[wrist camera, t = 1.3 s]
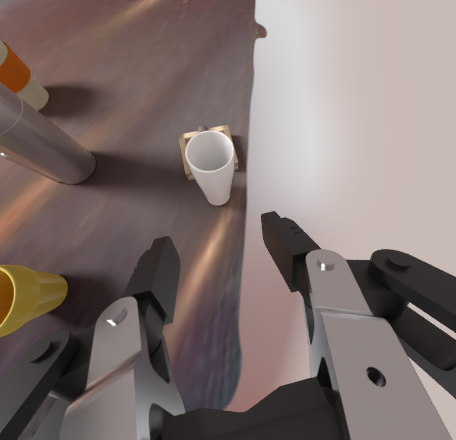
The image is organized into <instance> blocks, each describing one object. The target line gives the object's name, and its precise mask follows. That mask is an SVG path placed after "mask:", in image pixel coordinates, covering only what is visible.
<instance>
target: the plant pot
mask: <svg viewBox="0 0 456 440" xmlns="http://www.w3.org/2000/svg"><path fill="white" fill-rule="evenodd" d="M67 291H68V285H67V282H66V280H65V279H64V278H63V277H62V276H60V275H56V274H49V273H43V272H37V271H32V270H31V269H29V268H27V267H25V266H20V265H0V337H2V336H5V335H7V334H10V333H12V332H14V331H15V330H17V329H18V328H20V327H21V326H22V325H23V324H24V323H26V322H28V321H30V320H32V319H34V318H36V317H38V316H40V315H42V314H45V313H47V312H49V311H51V310H53V309H55V308H56V307H58V306H59V305H60V304H61V303H62V302H63V301H64V299H65V297H66V295H67Z"/></svg>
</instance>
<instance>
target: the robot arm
mask: <svg viewBox="0 0 456 440" xmlns="http://www.w3.org/2000/svg"><path fill="white" fill-rule="evenodd" d="M0 153H1V155H2V157H3V158H5V159H7V160H9V161H12V162H14V163H16V164H18V165H20V166H23V167H25V168H27V169H29V170H31V171H33V172H36V173H38V174H40V175H42V176H44V177H47V178H49V179H51V180H53V181H55V182H63V183H66V184H78V183H80V182H83V181H84V180H86V179H87V178H88V177H90V175H91V174H92V173H93V171H94V169H95V166H96V160H95V157H94V156H93V154H92V153H91V152H89V151H88V150H87V149H85V148H84V147H83V146H82V145H80V144H79V143H78V142H76V141H75V140H74V139H73V138H71V137H70V136H69V135H68V134H66V133H65V132H64V131H62V130H61V129H60V128H59V127H57V126H56V125H55V124H53V123H52V122H51V121H50V120H48V119H47V118H46V117H44V116H43V115H42V114H41V113H39V112H38V111H37V110H35V109H34V108H33V107H32V106H30V105H29V104H28V103H26V102H25V101H24V100H23V99H21V98H20V97H19V96H17V95H16V94H15V93H14V92H12V91H11V90H10V89H8V88H7V87H6V86H5V85H3V84H2V83H1V82H0ZM261 222H262V233H263V240H264V243H265V245H266V247H267V249H268V251H269V253H270V255H271V256H272V258H273V260H274V262H275V264H276V265H277V267H278V269H279V271H280V273H281V274H282V276H283V278H284V280H285V282H286V283H287V285H288V287H289V289H290V291H291V292H296V291H299V292H300V293H301V295H302V304H303V311H304V318H305V325H306V332H307V338H308V345H309V362H310V374H311V378H308V379H305V380H301V381H298V382H294V383H291V384H287V385H283V386H280V387H278V388H277V389H276V390H274V391H273V392H272V393H270V394H269V395H268V396H266V397H265V398H264V399H262V400H261V401H260V402H258V403H257V404H256V405H254V406H253V407H252V408H250V409H249V410H248V411H246V412H241V413H239V412H232V411H224V410H216V409H207V408H201V409H197V410H194V411H190V412H186V413H185V409H184V406H183V403H182V400H181V397H180V395H179V393H178V391H177V389H176V386H175V382H174V378H173V374H172V369H171V364H170V360H169V355H168V351H167V346H166V342H165V338H164V335H163V334H162V332H163V326H164V325H165V324H169V323H173V316H174V309H175V302H176V294H177V287H178V280H179V273H180V258H179V255H178V253H177V251H176V249H175V247H174V244H173V242H172V240H171V238H170V237H169V236H166V237H162V238H157V239H154V241H153V244H152V246H151V249H149V250H147V251H146V252H145V253H144V254H143V255H142V256H141V257H140V259H139V261H138V263H137V267H136V268H135V270H134V273H133V274H132V277H131V279H130V281H129V283H128V285H127V287H126V290H125V292H124V294H123V296H122V298H121V299H119V300H117V301H115V302H114V303H112V304H111V305H110V306H108V307H107V308H106V309H105V310H104V311H103V313H102V314H101V315H100V317H99V318H98V320H97V322H96V324H94V325H92V326H90V327H88V328H86V329H85V330H83V331H81V332H79V333H77V334H75V335H73V334H72V333H70V332H69V331H68V330H66V329H60V330H56V331H54V332H52V333H50V334H48V335H46V336H45V337H43V338H42V339H40V340H39V341H38V342H36V343H35V344H34V345H33V346H32V347H31V348H30V349H29V350H28V351H27V352H26V353H25V354H24V355H23V356H22V357H21V358H20V359H19V360H18V362H17V363H16V364H15V365H14V366H13V367H12V368H11V369H10V370H9V371H8V373H7V374H6V375H5V376H4V377H3V378H2V379H1V380H0V440H17V439H18V437H19V436H20V434H21V433H22V432H23V430H24V429H25V427H26V426H27V424H28V423H29V421H30V420H31V418H32V417H33V416H34V414H35V413H36V411H37V410H38V408H39V407H40V405H41V404H42V402H43V401H44V400H45V398H46V397H47V395H50V396H52V397H54V398H57V401H56V402H55V404H54V405H53V407H52V409H51V410H50V412H49V413H48V415H47V416H46V418H45V419H44V421H43V423H42V424H41V426H40V427H39V429H38V430H37V432H36V433H35V435H34V437H33V438H32V440H452V438H451V436H450V434H449V432H448V430H447V428H446V427H445V425H444V423H443V421H442V419H441V417H440V415H439V414H438V412H437V410H436V408H435V406H434V405H433V403H432V401H431V399H430V397H429V395H428V394H427V392H426V390H425V388H424V386H423V384H422V382H421V380H420V379H419V377H418V375H417V373H416V371H415V369H414V367H413V366H412V364H411V362H410V360H409V358H411V359H412V360H413V361H414V362H415V363H416V364H417V365H418V366H420V367H421V368H422V369H423V370H424V371H425V372H426V373H427V374H428V375H430V376H431V377H432V378H433V379H434V380H435V381H436V382H437V383H439V384H440V385H441V386H442V387H443V388H444V389H445V390H446V391H448V392H449V393H450V394H451V395H452V396H453V397H454V398H455V399H456V340H455V339H454V338H452V337H451V336H449V335H448V334H447V333H445V332H444V331H442V330H441V329H439V328H438V327H436V326H435V325H433V324H432V323H431V322H429V321H428V320H426V319H425V318H424V317H422V316H421V315H419V314H418V313H416V312H415V311H413V310H412V309H411V308H409V307H408V306H407V305H408V304H409V302H410V303H412V304H413V305H415V306H416V307H418V308H420V309H421V310H423V311H424V312H425V313H427V314H429V315H430V316H431V317H433V318H434V319H436V320H437V321H439V322H440V323H442V324H443V325H445V326H446V327H448V328H449V329H451V330H452V331H454V332H455V333H456V277H455V276H453V275H450V274H448V273H446V272H444V271H442V270H440V269H438V268H436V267H434V266H432V265H430V264H428V263H426V262H423V261H421V260H419V259H417V258H415V257H413V256H411V255H409V254H406V253H403V252H400V251H396V250H389V249H382V250H377V251H375V252H374V253H373V254H372V256H371V259H370V260H345V259H344V258H343V257H342V256H341V255H339V254H337V253H335V252H333V251H329V250H323V249H321V248H320V247H319V246H318V245H317V244H316V243H315V242H314V241H313V240H312V239H311V238H310V237H309V236H308V235H307V234H306V233H305V232H304V231H303V230H302V229H301V228H300V227H299V226H298V225H297V224H296V223H295V222H294V221H293V220H290V219H288V218H286V217H285V218H280V216H279V215H278V214H277V213H276V212H275V211H273V212H268V213H264V214H262V215H261ZM408 357H409V358H408Z"/></svg>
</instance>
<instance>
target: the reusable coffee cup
mask: <svg viewBox="0 0 456 440" xmlns="http://www.w3.org/2000/svg"><path fill="white" fill-rule="evenodd" d="M0 82H1V83H2V84H3V85H5V86H6V87H7V88H8V89H10V90H11V91H12V92H14V93H15V94H16V95H17V96H19V97H20V98H21V99H23V100H24V101H25V102H26V103H28V104H29V105H30V106H32V107H33V108H34V109H35V110H37V111H38V110H40V109H41V108H43V107H44V106H45V105H46V103H47V102H48V99H49V94H48V92H47V91H46V90H45V89H44V88H43V86H42V85H41V84H40V83H39V82H38V81H37V80H36V79H35V78H34V77H33V75H32V74H31V73H30V70H29V69H28V67H27V66H26V65H25V64H24V63H23V62H22V61H21V60H20V59H19V57H18V56H17V55H16V54H15V53H14V52H13V51H12V50H11V49H10V47H9V46H8V45H7V44H6V43H4V42H3V41H1V40H0Z"/></svg>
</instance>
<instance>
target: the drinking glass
mask: <svg viewBox="0 0 456 440" xmlns="http://www.w3.org/2000/svg"><path fill="white" fill-rule="evenodd" d="M185 156H186V160H187V162H188V165H189V168H190V170H191V173H192V175H193V177H194V178H195V180H196V182H197V183H198V185H199V186H200V188H201V189H202V191H203V193H204V194H205V196H206V198H207V200H208V201H209V202H210V203H211V204H213V205H216V206H219V205H223V204H225V203H226V202H227V201H228V200H229V198H230V191H231V185H232V180H233V174H234V167H235V154H234V146H233V143H232V141H231V140H230V139H229V137H227V136H226V135H225V134H223V133H221V132H218V131H204V132H200V133H198V134H196V135H195V136H194V137H192V138H191V139H190V141H189V142H188V144H187V146H186V150H185Z"/></svg>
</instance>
